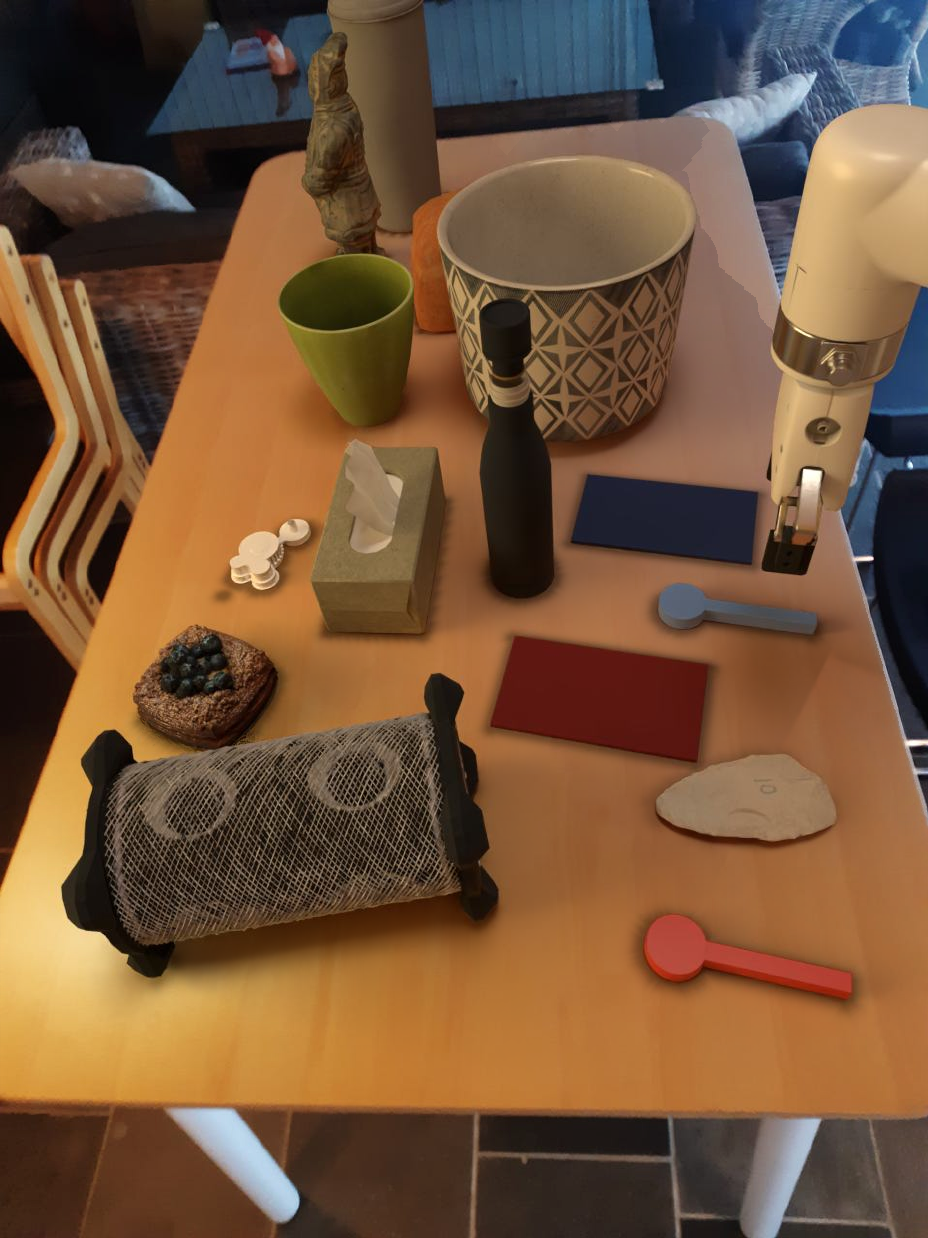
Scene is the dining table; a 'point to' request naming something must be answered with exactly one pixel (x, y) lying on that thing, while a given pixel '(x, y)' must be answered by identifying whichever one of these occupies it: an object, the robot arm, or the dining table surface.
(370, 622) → the tissue box
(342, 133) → the statue
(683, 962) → the red spoon
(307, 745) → the speaker
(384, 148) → the canister
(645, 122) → the dining table surface
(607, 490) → the navy mat
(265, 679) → the pastry
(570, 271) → the planter
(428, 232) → the bread
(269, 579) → the white lobed flat piece
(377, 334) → the flower pot
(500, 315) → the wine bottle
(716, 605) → the grey spoon
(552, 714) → the maroon mat
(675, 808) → the stone
